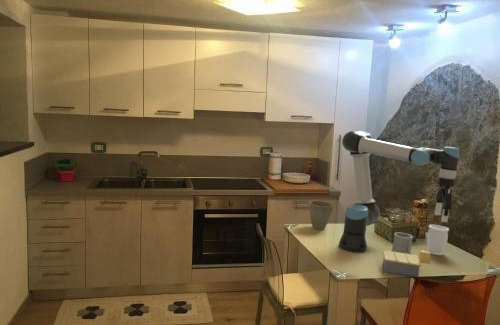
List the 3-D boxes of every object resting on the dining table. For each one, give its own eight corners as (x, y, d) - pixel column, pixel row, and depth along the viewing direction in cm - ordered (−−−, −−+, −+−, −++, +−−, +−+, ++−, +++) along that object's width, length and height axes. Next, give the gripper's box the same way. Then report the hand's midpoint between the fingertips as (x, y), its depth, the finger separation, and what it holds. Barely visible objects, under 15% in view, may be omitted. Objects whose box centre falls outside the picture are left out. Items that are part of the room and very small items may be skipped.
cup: (396, 252, 228) (399, 231, 227) (412, 257, 222) (415, 236, 220) (388, 255, 222) (391, 234, 220) (404, 261, 216) (407, 239, 214)
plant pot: (306, 230, 256) (309, 204, 254) (307, 223, 271) (309, 199, 268) (330, 233, 254) (333, 207, 252) (330, 226, 268) (333, 202, 266)
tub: (384, 272, 198) (386, 260, 197) (382, 263, 210) (384, 252, 209) (417, 278, 195) (419, 265, 194) (414, 268, 206) (416, 257, 206)
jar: (447, 257, 227) (451, 231, 225) (427, 254, 229) (431, 228, 226) (442, 251, 237) (446, 225, 235) (423, 248, 239) (427, 223, 237)
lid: (384, 260, 197) (386, 250, 196) (383, 251, 210) (384, 241, 209) (431, 268, 192) (432, 257, 192) (426, 258, 205) (428, 248, 204)
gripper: (462, 182, 197) (455, 225, 201) (448, 174, 222) (442, 213, 225) (445, 181, 199) (439, 223, 202) (433, 173, 223) (427, 211, 226)
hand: (440, 218), depth 213 cm, fingers open, 13 cm apart
